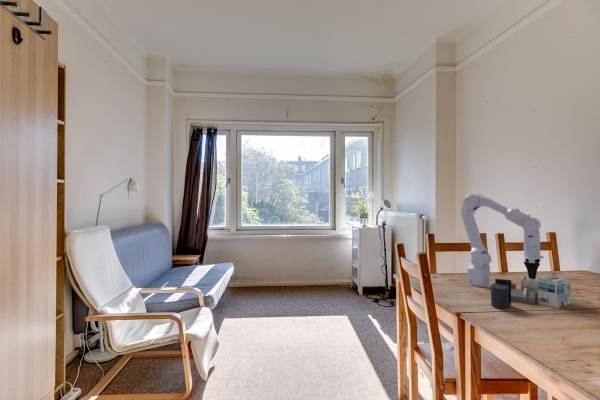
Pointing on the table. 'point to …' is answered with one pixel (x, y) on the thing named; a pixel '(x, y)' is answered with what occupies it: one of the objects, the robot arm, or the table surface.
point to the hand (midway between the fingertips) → (532, 276)
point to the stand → (523, 296)
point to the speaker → (501, 293)
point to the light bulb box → (554, 290)
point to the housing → (529, 284)
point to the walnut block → (513, 285)
